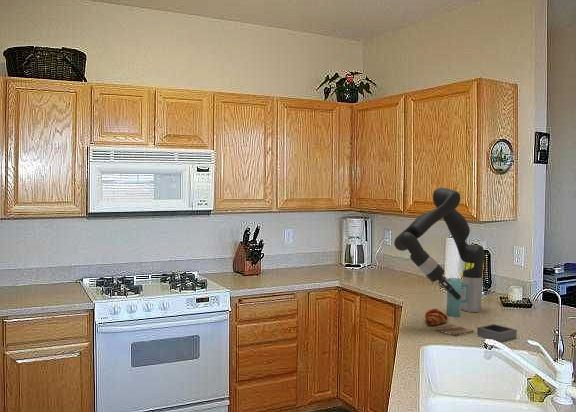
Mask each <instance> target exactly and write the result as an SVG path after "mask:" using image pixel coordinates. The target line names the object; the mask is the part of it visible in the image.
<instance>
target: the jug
mask: <svg viewBox="0 0 576 412" xmlns="http://www.w3.org/2000/svg"><path fill="white" fill-rule="evenodd" d="M447 279H448V281H449V282H450V283H451V285H452V287H453V288H454V289H455V291H456V292H457V293H458V294H459V295H460V296H461V292H462V290H463V287H466V289H465V300H461V298H460V299H459V300H457V299H456V298H455V297H454V296H453V295H452V294H450V293H449V292H448V291H446V311H445V313H446V315H447V317H450V318H451V317H452V318H461V317H462V316H461V314H462V309H461V303H469V284H463V278H457V277H449V278H447ZM451 289H452V288H450V289H449V291H450V290H451Z"/></svg>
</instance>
